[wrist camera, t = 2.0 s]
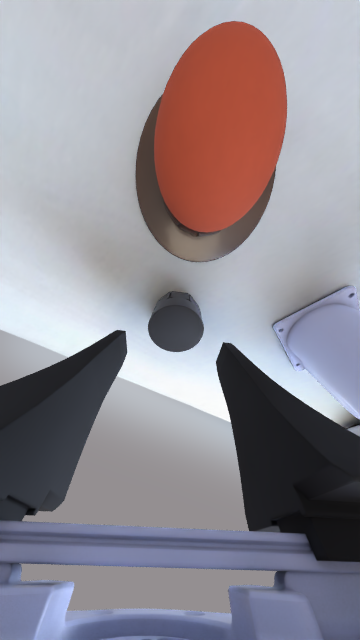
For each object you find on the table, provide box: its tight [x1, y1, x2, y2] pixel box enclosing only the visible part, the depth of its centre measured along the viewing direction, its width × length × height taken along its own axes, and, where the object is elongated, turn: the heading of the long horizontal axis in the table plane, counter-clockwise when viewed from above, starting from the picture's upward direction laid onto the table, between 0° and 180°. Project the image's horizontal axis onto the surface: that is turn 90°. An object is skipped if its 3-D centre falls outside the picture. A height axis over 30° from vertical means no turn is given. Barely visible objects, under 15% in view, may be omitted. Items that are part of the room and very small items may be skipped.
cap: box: [148, 291, 204, 352], centre depth 14 cm, size 5×5×4 cm
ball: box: [154, 21, 287, 232], centre depth 7 cm, size 6×6×6 cm
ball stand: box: [136, 94, 276, 262], centre depth 10 cm, size 10×10×2 cm
